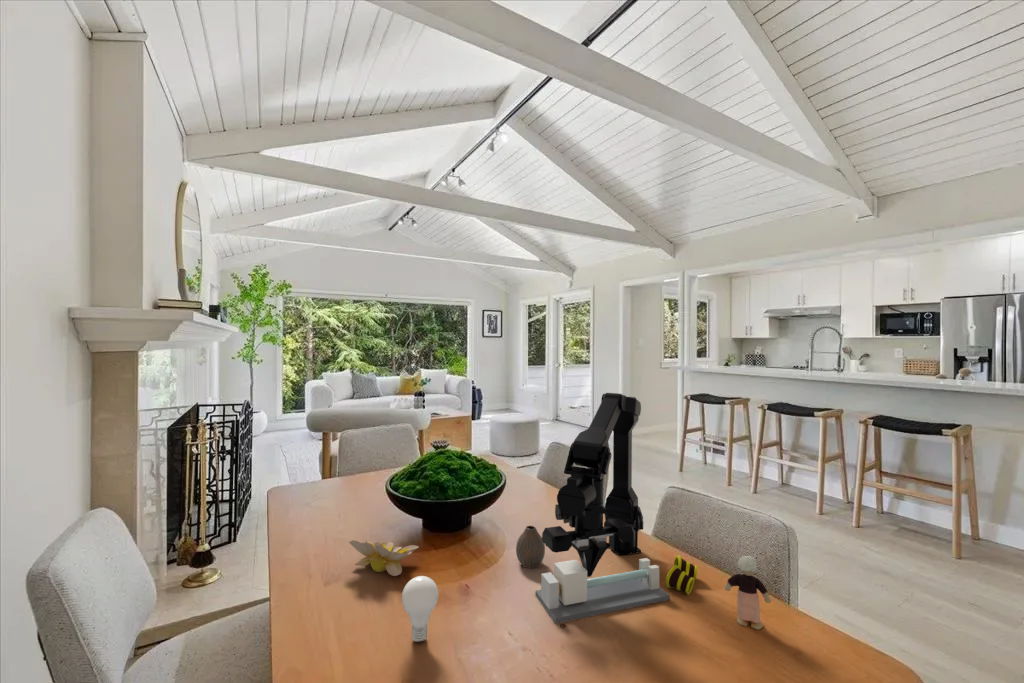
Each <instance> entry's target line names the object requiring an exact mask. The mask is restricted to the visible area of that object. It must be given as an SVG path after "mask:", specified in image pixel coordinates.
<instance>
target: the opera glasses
mask: <svg viewBox="0 0 1024 683" xmlns="http://www.w3.org/2000/svg"><path fill="white" fill-rule="evenodd" d="M697 573H698V565H696V564H695V565H694V563H691V562H690V561H688V560H685V559H683V558H682V557H681V555H676V557H675V558H674V562H673V566H672V567H671V569H670V570H669V571H668V572H667V575H666V577H665V585H666V587H667V588H668V589H671V588H674V589H676V591H679V592H682V593H683V592H685V594H687V595H689V594H690V593H691V592H692V590H693V588H694V585H695V584H694V583H695V582H696V579H697Z"/></svg>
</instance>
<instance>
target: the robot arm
mask: <svg viewBox="0 0 1024 683" xmlns="http://www.w3.org/2000/svg"><path fill="white" fill-rule="evenodd" d="M641 404H642V403H641V401H639V400H638V399H637V397H635V396H626V395H625V394H623V393H618V392H617V393H616V392H615V393H614V392H606V393H603V394H602V396H601V402H600V404H599V407H598V409H597V410H596V412H595V414H594V416H593V419H592V421H591V423H590V425H589V427H588V428H586V429H585V430H583V431H581V432H579V433H578V435H577V436H576V437H575V439H574V440H573V441H572V443H571V444H570V446H569V451H568V455H567V458H566V463H565V467H564V469H563V474H564V475H570V476H569V477H567V479H566V484H564V485H562V486H561V487H560V489H559V490H558V493H557V495H556V502H557V504H555V507H554V508H555V509H554V514H555V515H554V516H555V519H556V521H563V524H568V526H569V527H571V529H572V528H574V530H569V531H568V530H567V531H566V530H565V529H564V527H562V526H560V525H557V526H550V527H545V528H544V529H543V531H542V533H541V537H542V541H543V542H544V545H546V546H545V547H547V548H548V549H549V550H550V551H551V552H552V553H563V552H568V551H569V550H570V549H571V548H573V549H574V550H576V552H577V554H578V557H579V560H580V562H581V563H580V564H581V565H582V566H583V567H584V568H585V569H586V570H587V578H592V575H593V573H594V572H595V569H596V568H597V566H598V563H599V562H600V560H601V559H602V558H603V556H604V554H605V553H606V551H607V550H608V549H611V550H612V551H613V552H614V553H616V554H617V555H618V556H621V557H622V556H628V555H633V554H639V553H642V550H641V549H640V548H639V547H638V546H639V544H638V541H639V540H638V535H639V534H638V533H639V531H640V530H641V531H642V530H644V516H643V512H642V509H641V506H639V498H638V495H637V494H636V492H635V490H634V489H633V487H632V480H633V479H632V475H633V474H632V469H633V468H632V467H633V465H632V464H633V462H632V461H633V458H632V457H633V452H632V451H633V449H632V448H633V430H634V428H635V426H636V425H637V423H638V422H639V417H640V416H641V412H642V405H641ZM611 436H613V437H612V438H613V439H612V440H613V442H612V443H613V445H612V447H613V448H612V450H613V454H612V452H611V448H610V444H609V440H610V437H611ZM612 455H613V456H612ZM612 457H613V458H612ZM611 460H613V461H612V462H613V463H612V469H613V470H612V472H613V475H612V478H613V479H612V490H611V491H610V492H609V494H608V496H607V497H606V498H605V504H604V481H605V480H604V477H605V475H607V474H608V471H609V468H610V463H611ZM604 520H605V521H604ZM607 540H608V541H607Z"/></svg>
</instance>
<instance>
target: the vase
mask: <svg viewBox="0 0 1024 683" xmlns="http://www.w3.org/2000/svg"><path fill="white" fill-rule="evenodd" d="M515 549H516V550H515V553H516V557H517V561H518V562H519V563H520V564H521V566H523V568H524V567H525V568H527V569H534V568H537V567H538V566H540V565H541V563H542V562H543V560H544V557H545V553H546V546H545V543H544V542H543V541H542V535H541V534H540V533H539V531H538V529H537V528H536V525H535V526H534V525H527V526H526V527H525V529H524V531H523V532H522V533H521V534H520V535H519V536H518V539H517V541H516V547H515Z"/></svg>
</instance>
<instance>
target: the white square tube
mask: <svg viewBox="0 0 1024 683" xmlns="http://www.w3.org/2000/svg"><path fill="white" fill-rule="evenodd" d="M553 576H554V577H555V578H556V579H557V580H558V582H559V584H561V585H562V593H561V594H559V600H560V601H561V602H562V603H563V605H569V604H574V603H580V602H585V601H587V579H588V577H587V570H586V569H585V568H584V567H583V566H582V563H580V562H579V561H578V560H577V559H570V560H565V561H559V562H554V563H553Z"/></svg>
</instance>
